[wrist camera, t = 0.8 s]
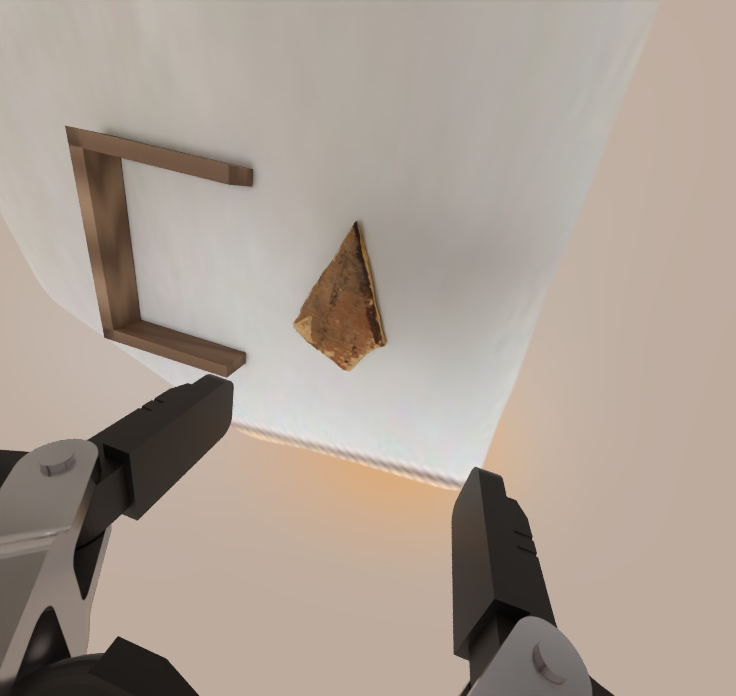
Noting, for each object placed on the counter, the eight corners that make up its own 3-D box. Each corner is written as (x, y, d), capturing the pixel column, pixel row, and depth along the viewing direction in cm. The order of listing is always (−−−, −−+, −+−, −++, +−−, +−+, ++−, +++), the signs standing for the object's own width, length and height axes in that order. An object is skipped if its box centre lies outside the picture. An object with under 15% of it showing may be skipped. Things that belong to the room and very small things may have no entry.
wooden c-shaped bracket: (105, 134, 26) (65, 125, 23) (252, 169, 24) (228, 164, 21) (131, 327, 33) (104, 337, 31) (245, 363, 32) (226, 377, 29)
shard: (360, 219, 24) (354, 220, 23) (437, 281, 25) (437, 286, 23) (295, 321, 29) (286, 328, 28) (360, 371, 30) (355, 380, 28)
